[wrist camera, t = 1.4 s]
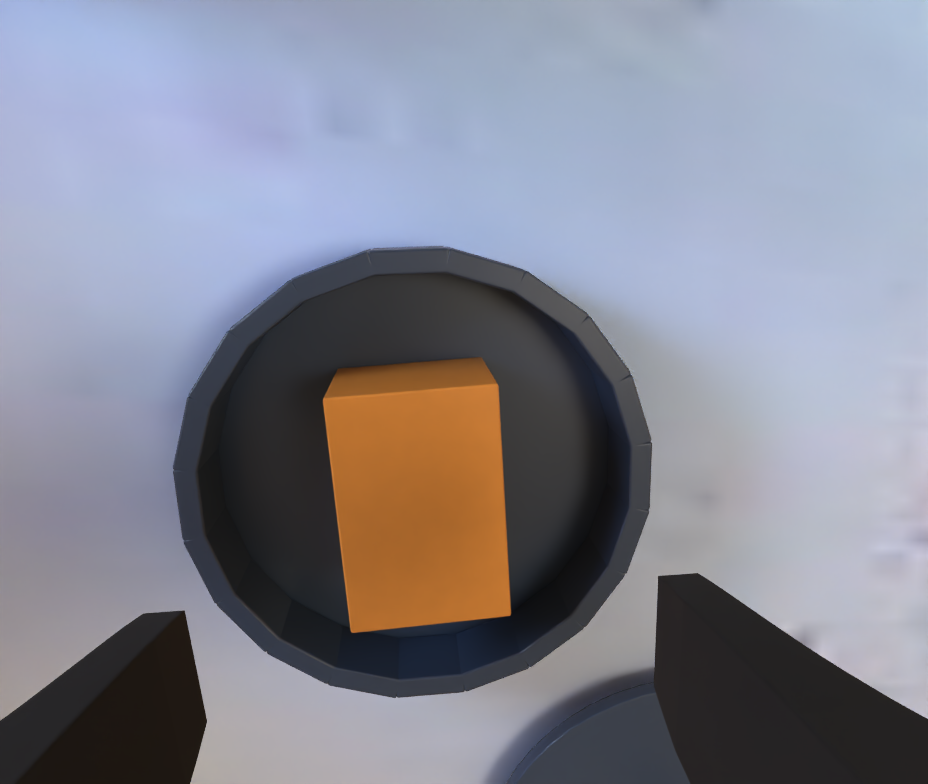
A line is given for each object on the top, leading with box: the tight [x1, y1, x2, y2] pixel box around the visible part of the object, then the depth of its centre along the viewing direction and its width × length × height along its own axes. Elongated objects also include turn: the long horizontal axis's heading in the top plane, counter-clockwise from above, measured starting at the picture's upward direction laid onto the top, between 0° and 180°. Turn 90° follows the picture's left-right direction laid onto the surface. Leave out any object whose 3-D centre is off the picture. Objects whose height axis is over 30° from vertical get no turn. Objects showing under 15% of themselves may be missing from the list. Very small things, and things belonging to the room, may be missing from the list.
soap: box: [323, 357, 511, 633], centre depth 18 cm, size 6×4×3 cm, turn 4°
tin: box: [173, 246, 652, 698], centre depth 18 cm, size 12×12×2 cm
